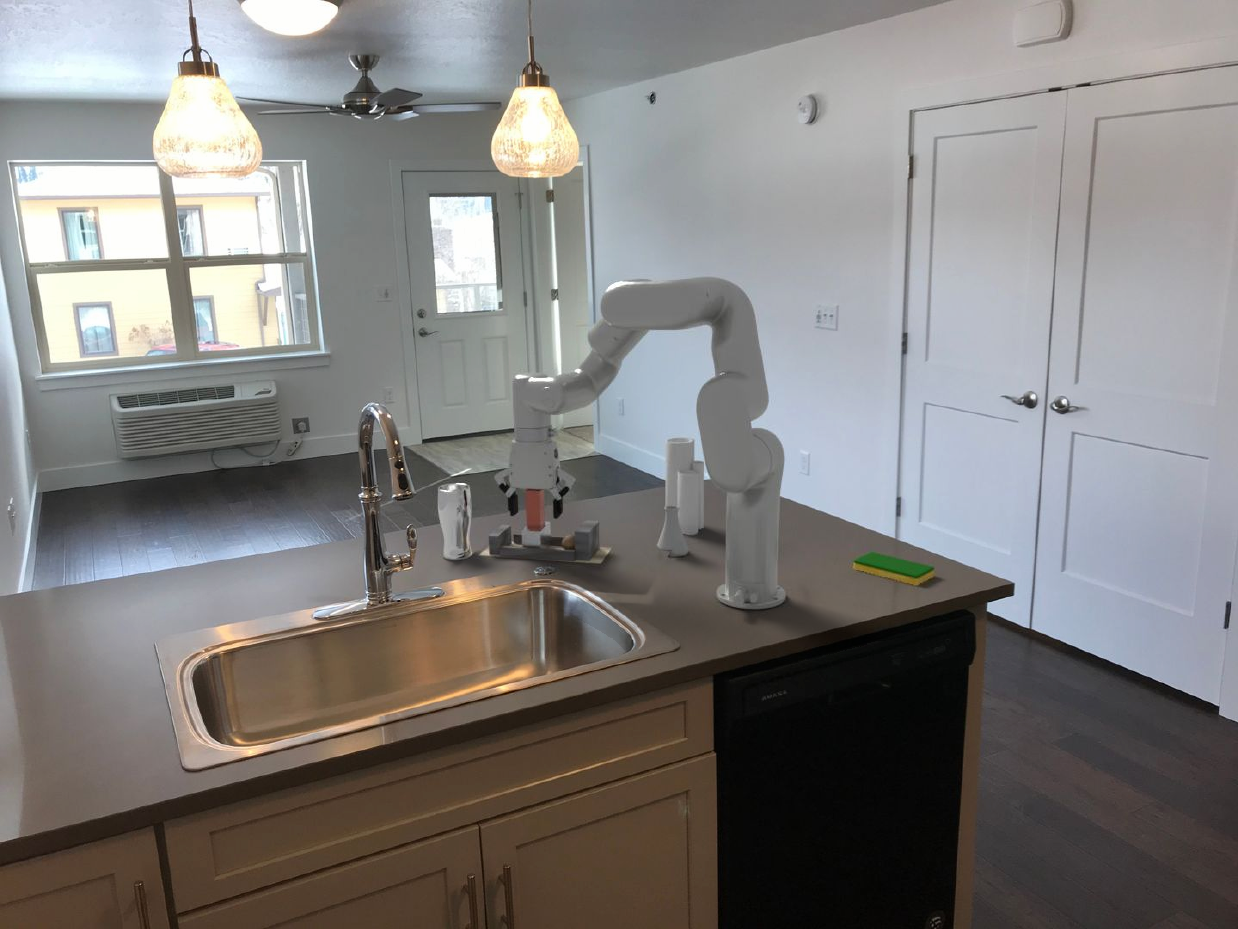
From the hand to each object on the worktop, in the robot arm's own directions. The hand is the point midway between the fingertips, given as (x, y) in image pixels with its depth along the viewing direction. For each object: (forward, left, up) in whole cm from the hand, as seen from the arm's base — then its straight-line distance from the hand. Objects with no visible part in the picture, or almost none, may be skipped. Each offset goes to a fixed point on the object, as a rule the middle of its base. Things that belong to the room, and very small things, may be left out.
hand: (535, 515), depth 200 cm
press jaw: (0, 0, -7) cm, 7 cm away
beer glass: (-2, +17, -9) cm, 20 cm away
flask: (+9, -27, -9) cm, 30 cm away
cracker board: (0, -2, -9) cm, 9 cm away
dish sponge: (+5, -72, -10) cm, 73 cm away
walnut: (0, -7, -8) cm, 11 cm away
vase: (+27, -27, -9) cm, 39 cm away
